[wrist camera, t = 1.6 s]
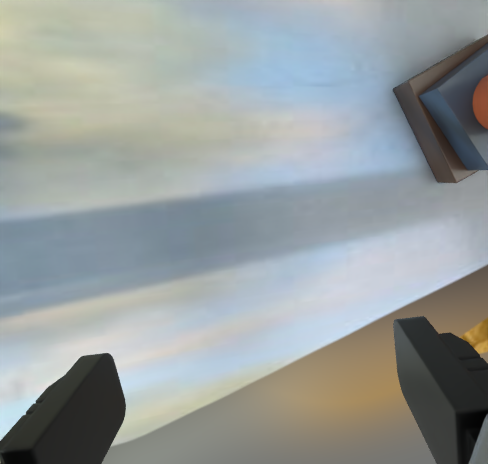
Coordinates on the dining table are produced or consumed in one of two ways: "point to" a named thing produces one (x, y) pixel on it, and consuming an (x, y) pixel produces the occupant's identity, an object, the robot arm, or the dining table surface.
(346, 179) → the dining table surface
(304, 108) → the dining table surface
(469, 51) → the block stack
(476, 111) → the terracotta canister
